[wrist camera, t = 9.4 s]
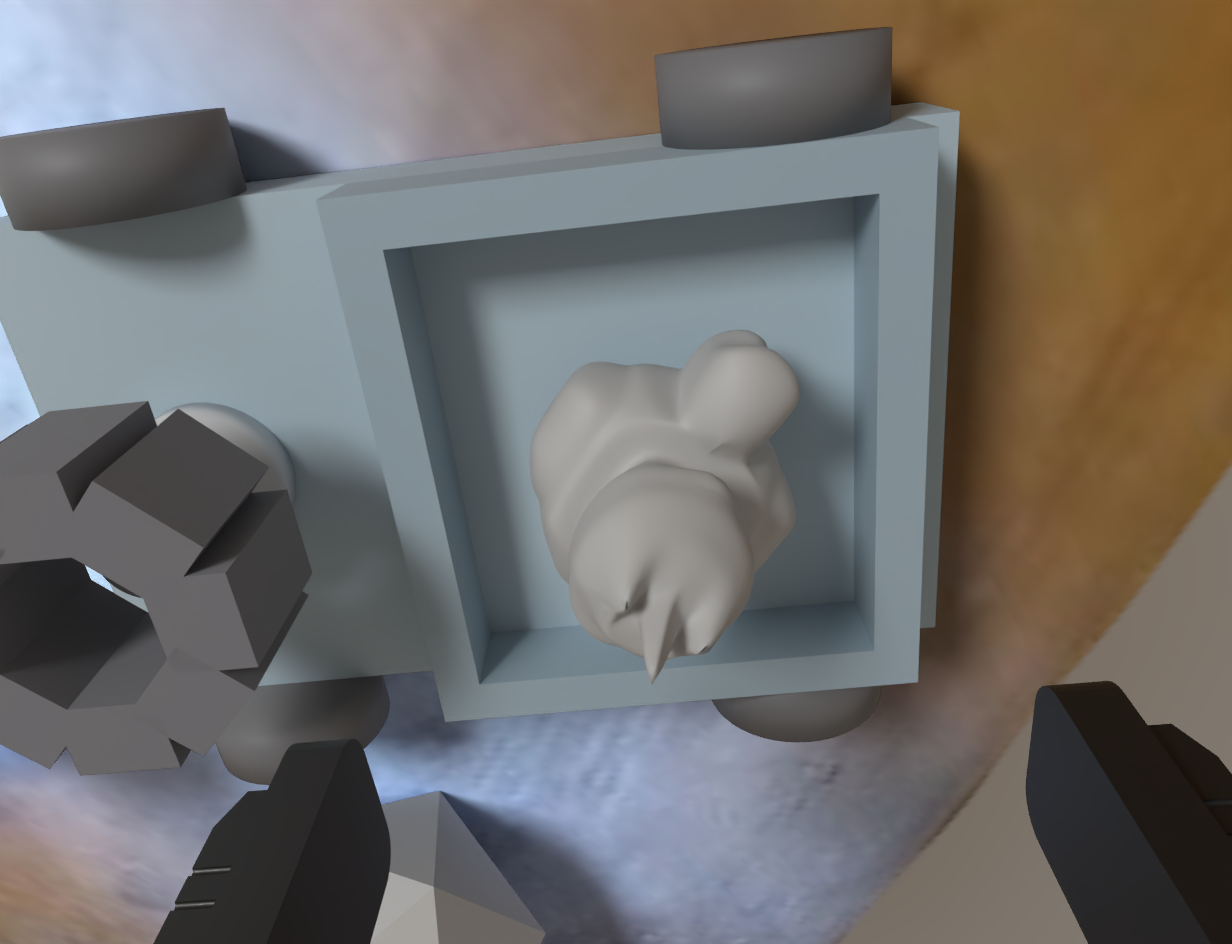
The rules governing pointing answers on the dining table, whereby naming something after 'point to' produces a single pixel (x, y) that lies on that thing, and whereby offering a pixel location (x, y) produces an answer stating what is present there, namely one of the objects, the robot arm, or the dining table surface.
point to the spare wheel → (136, 586)
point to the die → (445, 883)
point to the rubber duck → (666, 492)
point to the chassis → (525, 372)
